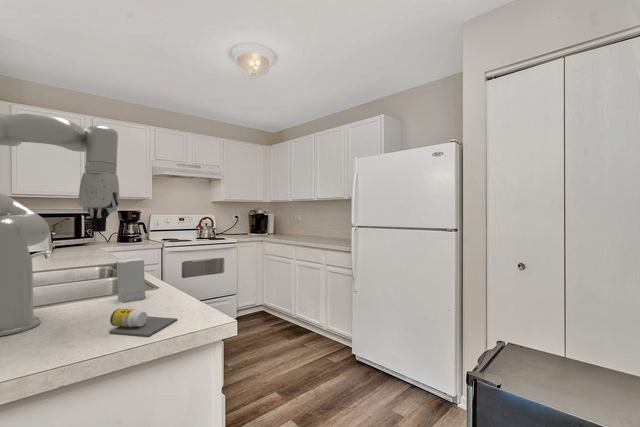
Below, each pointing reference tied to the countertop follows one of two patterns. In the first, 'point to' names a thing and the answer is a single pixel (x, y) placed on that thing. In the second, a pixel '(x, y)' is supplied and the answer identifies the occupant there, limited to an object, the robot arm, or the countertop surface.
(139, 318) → the supplement bottle
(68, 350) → the countertop surface
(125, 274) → the skincare box
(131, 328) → the mat
